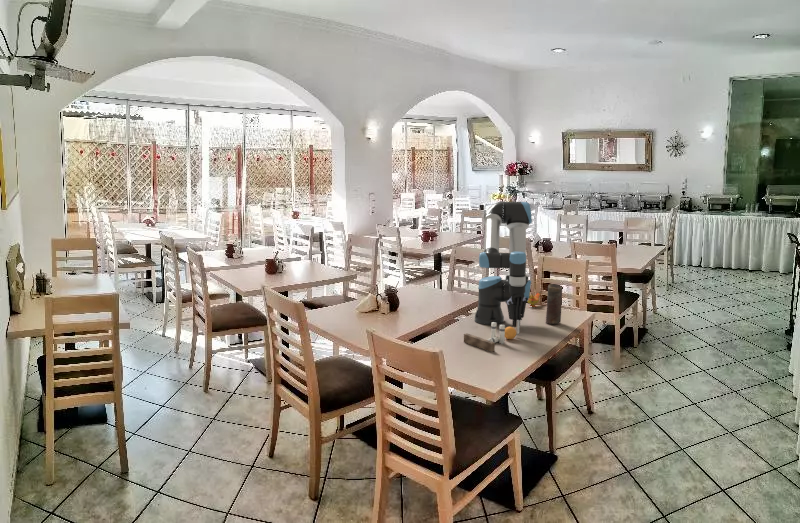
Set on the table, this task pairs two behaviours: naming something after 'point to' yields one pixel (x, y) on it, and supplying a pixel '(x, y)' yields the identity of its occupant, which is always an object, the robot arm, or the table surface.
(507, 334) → the ball
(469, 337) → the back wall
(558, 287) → the rusty brown cylinder
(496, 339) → the front pin
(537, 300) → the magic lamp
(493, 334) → the pin
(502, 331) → the pin
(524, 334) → the table surface
